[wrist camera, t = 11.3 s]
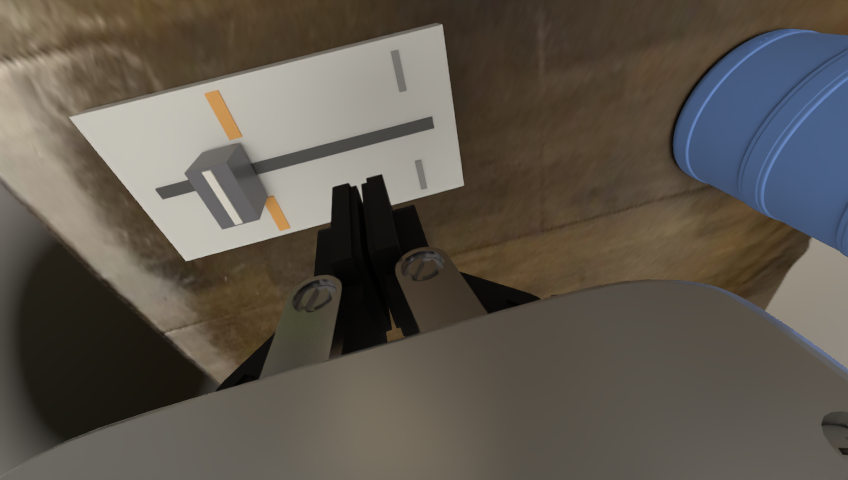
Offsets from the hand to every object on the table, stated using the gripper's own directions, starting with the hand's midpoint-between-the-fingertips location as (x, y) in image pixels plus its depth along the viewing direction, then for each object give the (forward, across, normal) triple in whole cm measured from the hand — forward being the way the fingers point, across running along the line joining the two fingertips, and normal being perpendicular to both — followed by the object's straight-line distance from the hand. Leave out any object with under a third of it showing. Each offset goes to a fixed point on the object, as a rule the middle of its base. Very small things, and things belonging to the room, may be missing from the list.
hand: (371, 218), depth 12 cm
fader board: (+22, +6, +4) cm, 23 cm away
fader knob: (+19, +11, +4) cm, 23 cm away
